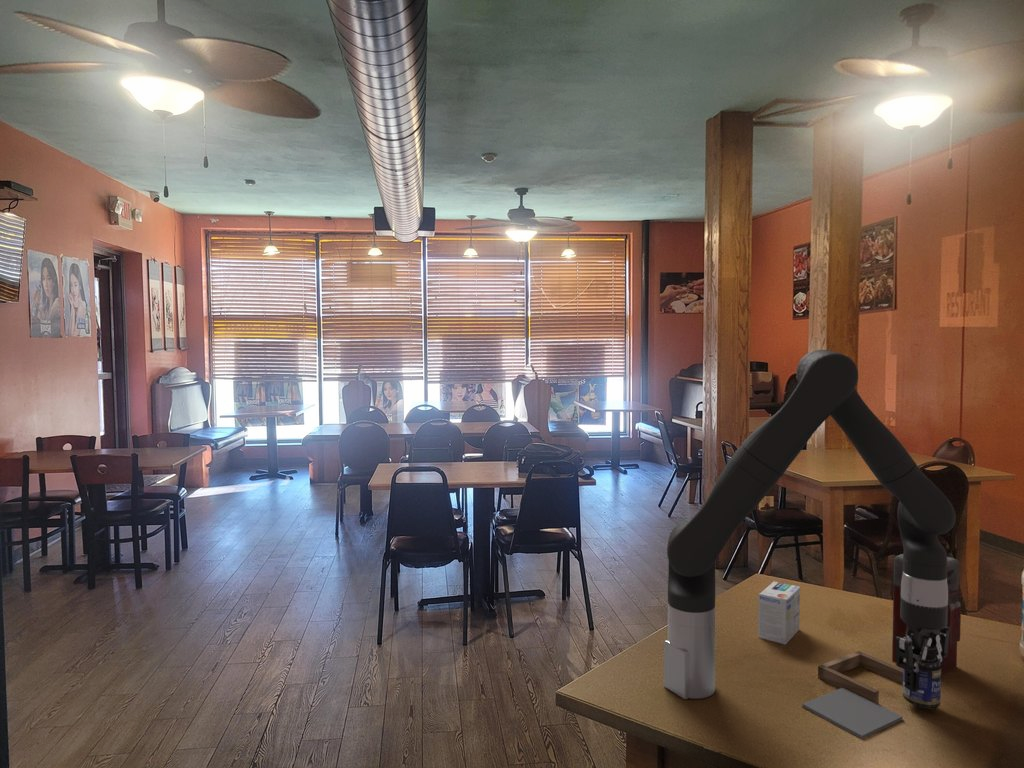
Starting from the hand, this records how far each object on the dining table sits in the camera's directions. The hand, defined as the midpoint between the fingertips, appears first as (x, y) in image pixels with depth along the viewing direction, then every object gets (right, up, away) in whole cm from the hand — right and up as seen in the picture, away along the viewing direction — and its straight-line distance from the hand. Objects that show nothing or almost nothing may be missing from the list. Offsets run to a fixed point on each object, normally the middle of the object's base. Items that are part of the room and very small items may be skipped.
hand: (921, 684), depth 125 cm
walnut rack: (-5, -4, +9) cm, 11 cm away
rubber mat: (-14, -5, -1) cm, 15 cm away
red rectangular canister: (+12, -4, +16) cm, 20 cm away
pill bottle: (0, -3, 0) cm, 3 cm away
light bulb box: (-14, -3, +33) cm, 36 cm away
